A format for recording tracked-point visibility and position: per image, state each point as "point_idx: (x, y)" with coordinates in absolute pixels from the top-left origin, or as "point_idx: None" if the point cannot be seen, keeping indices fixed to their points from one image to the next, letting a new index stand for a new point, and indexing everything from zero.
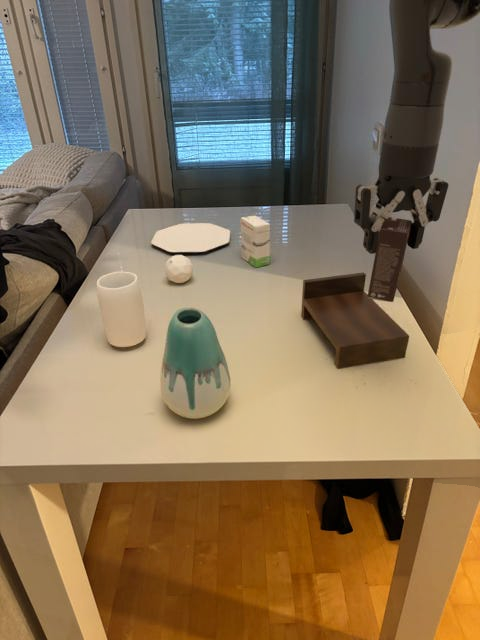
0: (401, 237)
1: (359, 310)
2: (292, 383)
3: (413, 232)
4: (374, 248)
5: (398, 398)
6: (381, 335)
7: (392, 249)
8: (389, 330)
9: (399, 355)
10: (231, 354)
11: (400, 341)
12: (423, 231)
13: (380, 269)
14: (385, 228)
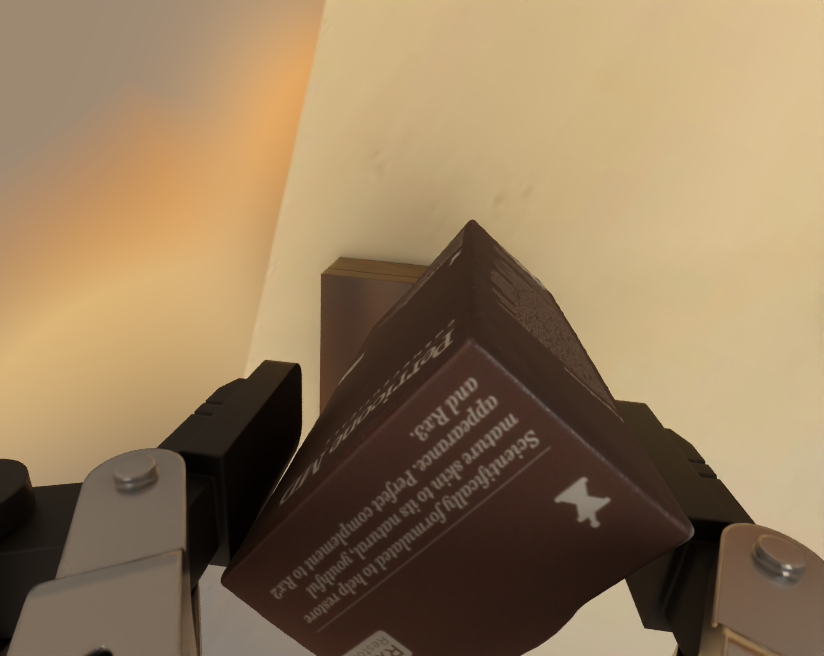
0: (513, 350)
1: None
2: (669, 265)
3: (256, 466)
4: (639, 418)
5: (453, 112)
6: (395, 303)
7: (540, 339)
8: (360, 316)
9: (354, 261)
10: (741, 422)
11: (350, 272)
12: (177, 433)
13: (553, 319)
14: (642, 521)
